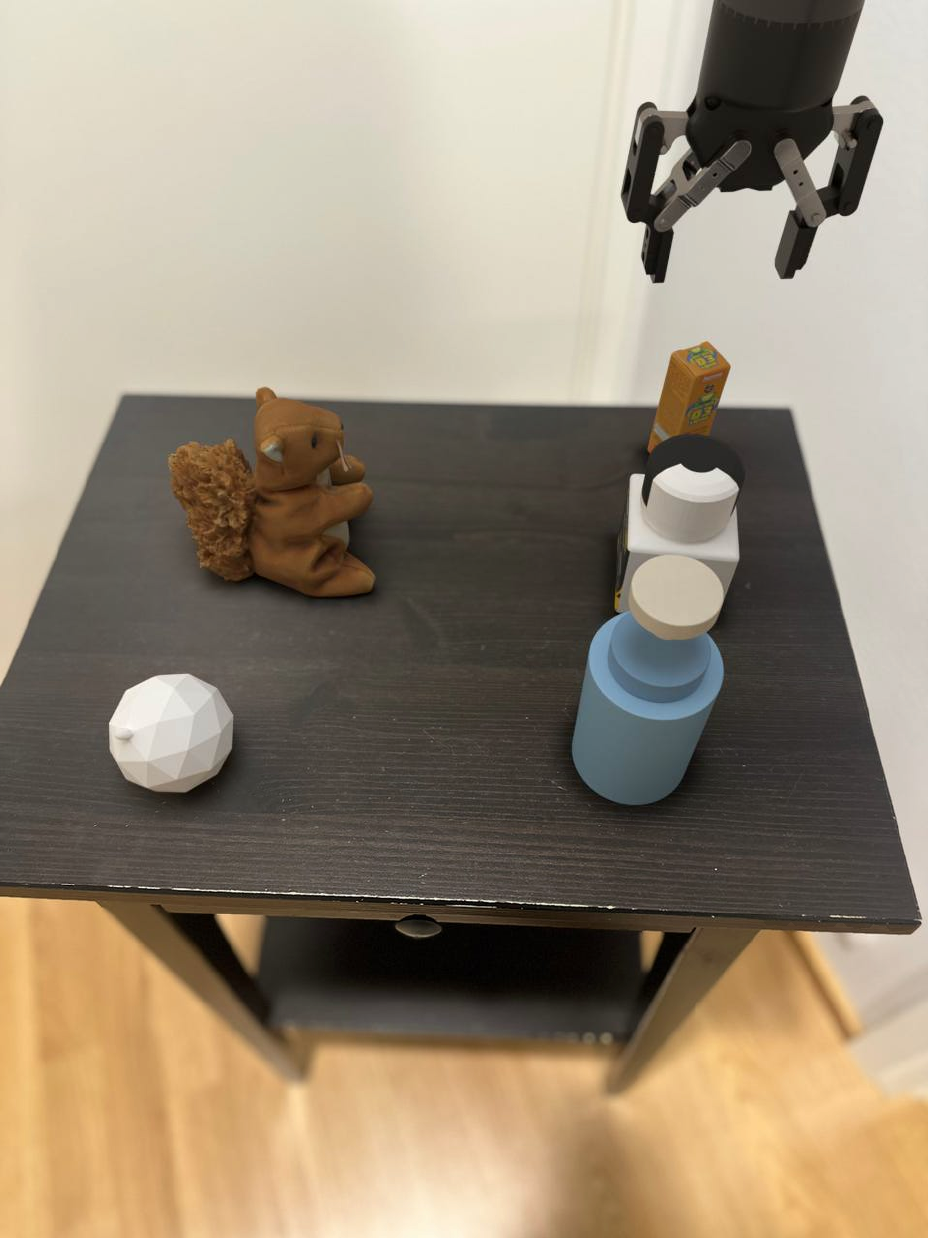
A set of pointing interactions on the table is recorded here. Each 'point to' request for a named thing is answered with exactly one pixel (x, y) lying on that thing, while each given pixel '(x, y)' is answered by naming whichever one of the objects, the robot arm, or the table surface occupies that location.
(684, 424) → the supplement box
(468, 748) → the table surface
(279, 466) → the stuffed squirrel
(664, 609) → the disc
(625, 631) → the pump bottle
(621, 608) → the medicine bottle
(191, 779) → the ornament
